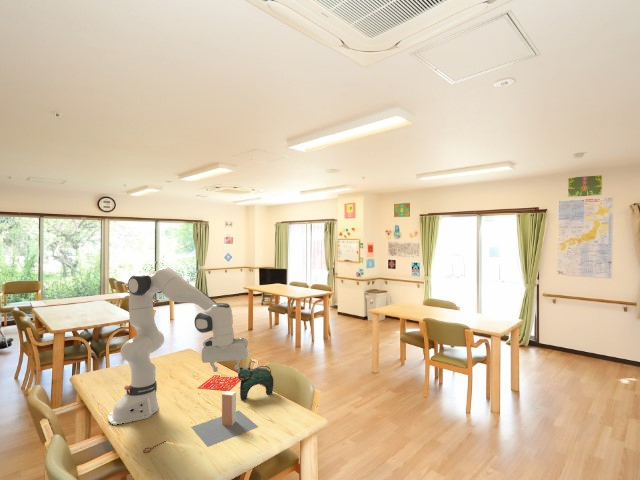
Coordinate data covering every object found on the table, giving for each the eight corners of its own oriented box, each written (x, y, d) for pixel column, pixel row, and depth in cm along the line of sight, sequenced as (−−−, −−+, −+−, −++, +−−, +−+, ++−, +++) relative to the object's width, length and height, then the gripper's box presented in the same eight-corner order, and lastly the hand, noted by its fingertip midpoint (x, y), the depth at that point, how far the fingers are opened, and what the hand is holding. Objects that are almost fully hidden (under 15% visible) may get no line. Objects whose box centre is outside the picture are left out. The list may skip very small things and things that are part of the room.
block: (231, 425, 157) (231, 395, 157) (222, 424, 158) (222, 394, 158) (235, 421, 161) (235, 391, 161) (226, 420, 162) (226, 390, 162)
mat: (207, 448, 141) (207, 446, 141) (191, 428, 156) (191, 426, 156) (258, 428, 156) (258, 426, 156) (238, 411, 171) (238, 410, 171)
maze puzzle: (228, 391, 196) (228, 390, 196) (197, 389, 199) (197, 387, 199) (243, 378, 215) (243, 377, 215) (214, 376, 219) (214, 375, 219)
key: (173, 434, 153) (139, 450, 140) (172, 432, 153) (139, 448, 140) (180, 437, 149) (146, 454, 137) (180, 435, 149) (146, 452, 137)
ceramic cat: (238, 402, 182) (238, 364, 182) (236, 397, 188) (236, 361, 188) (274, 395, 190) (274, 359, 190) (271, 390, 196) (271, 356, 196)
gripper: (248, 335, 156) (250, 366, 155) (203, 339, 155) (205, 369, 155) (245, 339, 149) (248, 370, 149) (199, 343, 149) (201, 375, 148)
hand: (226, 370), depth 152 cm, fingers open, 8 cm apart
